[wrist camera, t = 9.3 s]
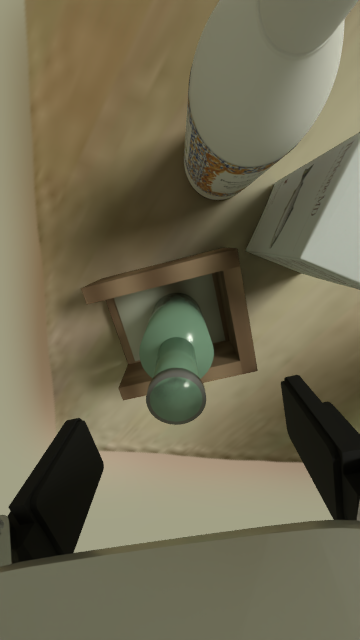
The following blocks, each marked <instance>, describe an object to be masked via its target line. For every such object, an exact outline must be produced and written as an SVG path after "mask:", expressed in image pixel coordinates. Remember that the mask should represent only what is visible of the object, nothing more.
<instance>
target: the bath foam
mask: <svg viewBox="0 0 360 640" xmlns="http://www.w3.org/2000/svg"><path fill="white" fill-rule="evenodd" d="M357 2H358V0H220V1H219V2H218V4H217V6H216V7H215V9H214V10H213V12H212V14H211V15H210V17H209V19H208V21H207V24H206V26H205V28H204V30H203V32H202V35H201V38H200V40H199V43H198V46H197V49H196V52H195V56H194V60H193V64H192V68H191V72H190V79H189V91H188V105H187V120H186V134H185V148H184V167H185V172H186V175H187V178H188V180H189V182H190V184H191V185H192V187H193V188H194V189H195V190H196V191H197V192H198V193H199V194H201V195H202V196H204V197H206V198H209V199H213V200H223V199H228V198H231V197H233V196H235V195H236V194H238V193H239V192H241V191H242V190H243V189H245V188H246V187H247V186H248V185H250V184H251V183H252V182H253V181H254V180H256V179H257V178H258V177H259V176H261V175H262V174H263V173H264V172H265V171H267V170H268V169H269V168H270V167H272V166H273V165H274V164H275V163H277V162H278V161H279V160H280V159H281V158H283V157H284V156H285V155H286V154H288V153H289V152H290V151H291V150H292V149H293V148H294V147H295V146H296V145H297V144H298V143H299V142H300V141H301V139H302V138H303V137H304V136H305V135H306V133H307V132H308V131H309V129H310V128H311V127H312V125H313V124H314V122H315V121H316V119H317V118H318V116H319V114H320V112H321V111H322V109H323V107H324V105H325V103H326V101H327V99H328V97H329V94H330V92H331V89H332V87H333V84H334V81H335V78H336V74H337V71H338V67H339V63H340V58H341V52H342V46H343V36H344V19H345V17H346V16H347V15H348V14H349V12H350V11H351V10H352V8H353V7H354V6H355V4H356V3H357Z"/></svg>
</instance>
